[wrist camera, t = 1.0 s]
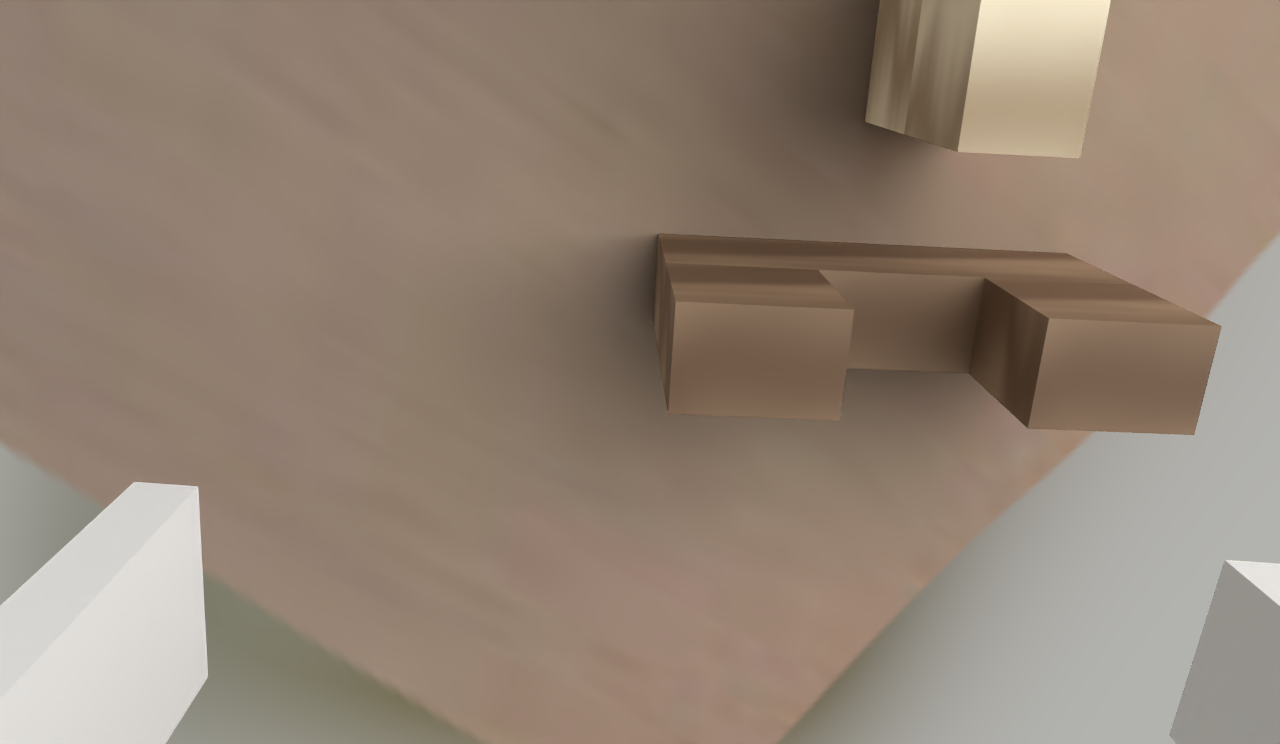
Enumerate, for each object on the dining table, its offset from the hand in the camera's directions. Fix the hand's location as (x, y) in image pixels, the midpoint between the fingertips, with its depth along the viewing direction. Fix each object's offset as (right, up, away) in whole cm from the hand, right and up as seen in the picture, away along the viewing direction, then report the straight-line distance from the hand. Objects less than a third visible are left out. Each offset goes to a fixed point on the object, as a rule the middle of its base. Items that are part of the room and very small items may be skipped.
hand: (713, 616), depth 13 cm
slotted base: (+7, +6, +21) cm, 23 cm away
